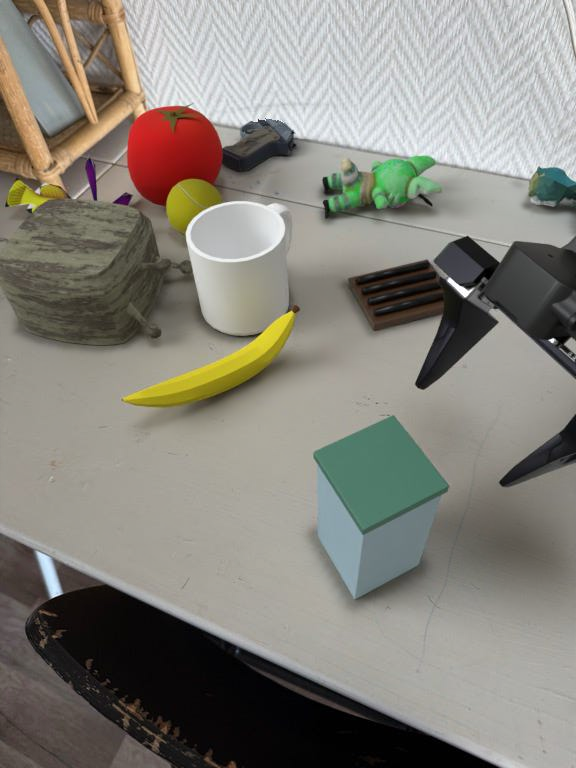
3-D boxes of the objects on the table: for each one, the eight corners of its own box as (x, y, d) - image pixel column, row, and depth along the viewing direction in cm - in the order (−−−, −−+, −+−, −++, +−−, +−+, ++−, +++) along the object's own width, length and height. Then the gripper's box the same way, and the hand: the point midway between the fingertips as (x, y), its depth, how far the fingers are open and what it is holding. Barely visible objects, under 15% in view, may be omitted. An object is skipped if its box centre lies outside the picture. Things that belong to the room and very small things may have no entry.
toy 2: (327, 237, 77) (444, 219, 75) (317, 188, 72) (444, 167, 69) (326, 193, 84) (434, 175, 81) (317, 144, 78) (433, 123, 76)
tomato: (114, 202, 81) (89, 121, 72) (181, 157, 88) (166, 77, 79) (181, 232, 76) (162, 149, 67) (246, 181, 83) (238, 100, 74)
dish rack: (426, 265, 71) (428, 253, 69) (457, 309, 66) (460, 297, 64) (347, 284, 69) (348, 272, 68) (373, 331, 64) (375, 319, 63)
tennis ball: (225, 247, 76) (199, 222, 80) (239, 196, 72) (211, 171, 76) (177, 247, 72) (152, 220, 76) (189, 192, 68) (162, 167, 72)
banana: (129, 420, 58) (111, 379, 53) (292, 340, 64) (290, 296, 59) (140, 441, 56) (123, 400, 51) (307, 357, 62) (306, 313, 57)
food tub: (379, 502, 51) (393, 414, 41) (422, 566, 48) (450, 485, 37) (314, 535, 50) (312, 451, 40) (353, 603, 46) (363, 530, 36)
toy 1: (167, 204, 80) (142, 274, 80) (50, 171, 84) (25, 237, 84) (127, 164, 69) (98, 244, 68) (-7, 128, 73) (-35, 204, 73)
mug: (245, 351, 63) (234, 276, 55) (183, 309, 67) (165, 234, 59) (321, 289, 68) (322, 213, 60) (259, 254, 73) (252, 179, 65)
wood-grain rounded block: (201, 269, 72) (16, 245, 76) (189, 205, 65) (-14, 182, 69) (158, 356, 63) (-48, 323, 67) (139, 293, 56) (-90, 260, 60)
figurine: (573, 156, 80) (519, 149, 80) (610, 129, 71) (549, 121, 71) (560, 244, 81) (506, 236, 81) (595, 229, 72) (533, 220, 72)
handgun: (196, 134, 93) (265, 114, 95) (230, 177, 85) (305, 153, 87) (193, 119, 91) (264, 99, 94) (228, 161, 83) (304, 137, 86)
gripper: (485, 117, 34) (319, 319, 40) (788, 312, 24) (503, 550, 29) (549, 196, 43) (403, 354, 48) (795, 368, 32) (571, 545, 38)
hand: (458, 433), depth 41 cm, fingers open, 9 cm apart
